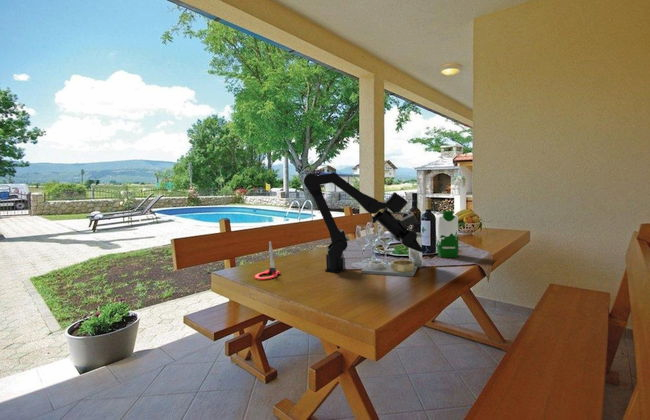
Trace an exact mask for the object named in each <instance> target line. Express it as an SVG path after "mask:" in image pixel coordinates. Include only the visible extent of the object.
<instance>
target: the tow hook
mask: <svg viewBox="0 0 650 420" xmlns="http://www.w3.org/2000/svg"><path fill="white" fill-rule="evenodd" d="M268 245H269V247H268V249H269V250H268V251H269V266H270V267H269V269H266V270H265V271H262V272H259V273H256V274H255V275H254V279H255V278H256V279H260V280H259V281H265V280H264V279H270V280H273V279H275V278H277V277H278V274H280V275H281V274H282V271H281V270H277V267H276V266H275V260H274V253H273V246H272V241H268ZM269 273H271V274H270V276H264V275H263V274H266V275H269ZM260 275H262V277H261V276H260ZM272 278H273V279H272ZM256 279H255V280H256Z"/></svg>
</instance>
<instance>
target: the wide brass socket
mask: <svg viewBox="0 0 650 420" xmlns="http://www.w3.org/2000/svg"><path fill="white" fill-rule="evenodd" d="M390 265H391V270H393V271H396V272H411V271H414V262H413V261H409V259H396V260H392V261H391V262H390Z"/></svg>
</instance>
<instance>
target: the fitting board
mask: <svg viewBox="0 0 650 420" xmlns="http://www.w3.org/2000/svg"><path fill="white" fill-rule="evenodd" d="M417 269H418V268H417V266H414V271H411V272H396V271H393V270H391V264H386V263H384V268H383V269H378V270H376V269H370V268H368V263H367V265H365V266H364V267H363V268H361V270H360V273H361V274H367V275H368V274H371V275H382V276H383V275H385V276H399V277H414V275H415V274H416V272H417Z"/></svg>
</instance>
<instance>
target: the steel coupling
mask: <svg viewBox="0 0 650 420" xmlns="http://www.w3.org/2000/svg"><path fill="white" fill-rule="evenodd" d="M416 233H417V242H418V243H419V245H420V246H421V248H422V249H423V242H422V240H423V237H422V233H421V232H416ZM408 260H409V261H413V262H414V266H417V269H419V268H422V267H423V251H422V252H419V251H416V250H414V249H411V248H408Z"/></svg>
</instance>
